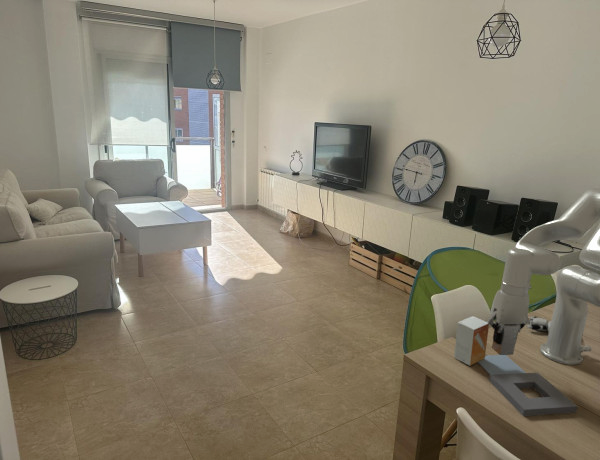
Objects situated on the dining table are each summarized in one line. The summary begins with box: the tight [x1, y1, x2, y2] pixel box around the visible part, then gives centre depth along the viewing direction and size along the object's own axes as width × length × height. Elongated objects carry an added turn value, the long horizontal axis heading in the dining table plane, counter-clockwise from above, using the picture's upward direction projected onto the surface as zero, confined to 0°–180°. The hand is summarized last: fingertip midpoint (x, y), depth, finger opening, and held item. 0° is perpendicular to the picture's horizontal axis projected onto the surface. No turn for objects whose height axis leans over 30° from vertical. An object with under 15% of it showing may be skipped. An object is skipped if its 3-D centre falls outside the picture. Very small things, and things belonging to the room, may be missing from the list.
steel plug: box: [491, 324, 519, 356], centre depth 136 cm, size 4×4×10 cm
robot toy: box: [526, 315, 551, 333], centre depth 164 cm, size 12×4×15 cm
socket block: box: [488, 372, 578, 417], centre depth 124 cm, size 16×16×2 cm
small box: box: [453, 315, 490, 366], centre depth 141 cm, size 8×6×13 cm
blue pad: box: [477, 354, 527, 376], centre depth 139 cm, size 12×12×1 cm
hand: (504, 341), depth 137 cm, fingers closed on steel plug, 4 cm apart
